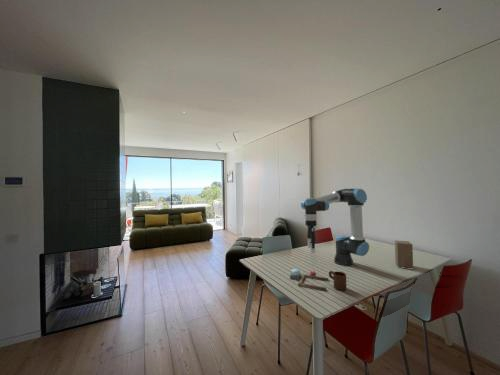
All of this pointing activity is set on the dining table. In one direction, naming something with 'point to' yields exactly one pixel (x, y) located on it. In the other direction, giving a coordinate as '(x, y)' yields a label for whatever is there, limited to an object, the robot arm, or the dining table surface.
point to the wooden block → (403, 254)
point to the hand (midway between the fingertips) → (311, 250)
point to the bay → (312, 285)
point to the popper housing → (295, 277)
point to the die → (313, 273)
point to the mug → (339, 280)
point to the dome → (295, 272)
